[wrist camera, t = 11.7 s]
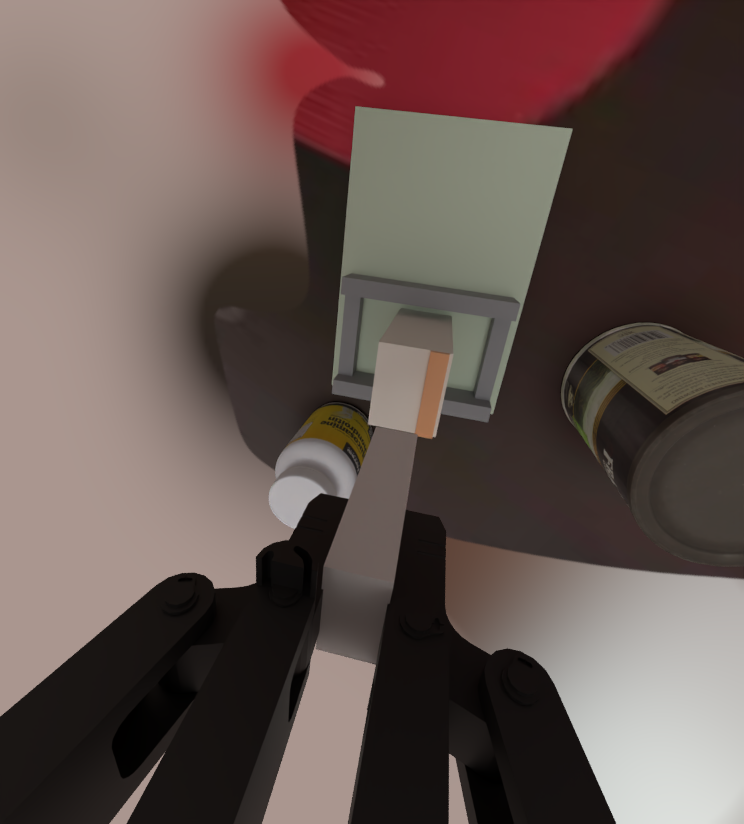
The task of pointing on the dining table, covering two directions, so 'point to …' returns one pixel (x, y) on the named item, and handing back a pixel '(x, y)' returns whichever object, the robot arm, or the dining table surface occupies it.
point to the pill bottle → (320, 460)
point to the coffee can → (666, 434)
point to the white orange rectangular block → (412, 372)
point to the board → (442, 241)
